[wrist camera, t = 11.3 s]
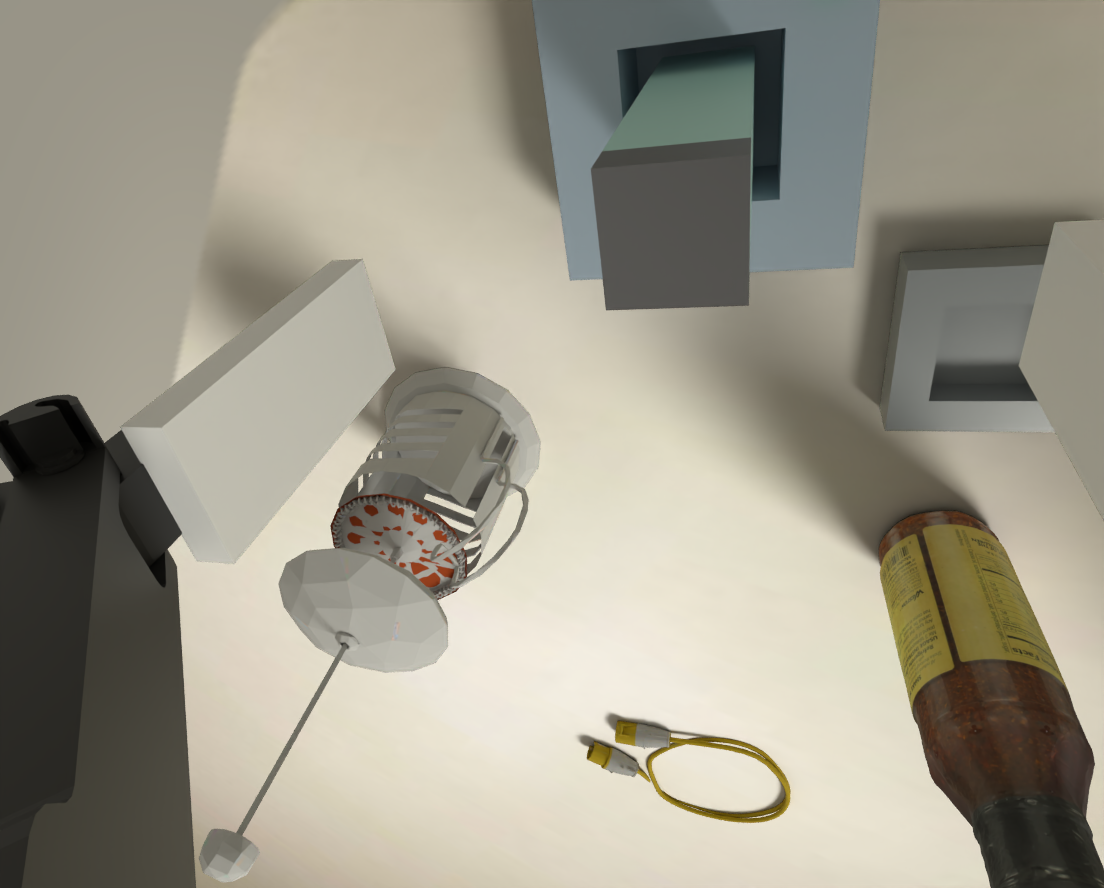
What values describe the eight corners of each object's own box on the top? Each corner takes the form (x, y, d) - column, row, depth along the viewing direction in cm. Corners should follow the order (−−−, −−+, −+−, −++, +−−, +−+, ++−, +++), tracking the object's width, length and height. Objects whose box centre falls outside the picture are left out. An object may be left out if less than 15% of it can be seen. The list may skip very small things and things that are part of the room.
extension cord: (685, 684, 53) (682, 708, 51) (823, 792, 57) (824, 817, 55) (576, 732, 60) (571, 754, 58) (706, 825, 64) (704, 848, 62)
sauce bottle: (901, 596, 43) (981, 992, 27) (856, 524, 40) (916, 912, 25) (1024, 565, 39) (1195, 995, 24) (983, 484, 37) (1144, 903, 21)
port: (841, 222, 31) (854, 271, 27) (591, 237, 34) (567, 284, 30) (868, -94, 25) (891, -94, 21) (560, -41, 28) (524, -32, 24)
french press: (353, 398, 43) (18, 803, 24) (512, 331, 38) (250, 781, 18) (442, 516, 48) (220, 942, 28) (596, 471, 42) (455, 956, 23)
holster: (1065, 408, 34) (1080, 432, 32) (879, 407, 36) (884, 430, 34) (1117, 241, 29) (1137, 260, 28) (900, 252, 31) (908, 270, 30)
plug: (753, 141, 30) (748, 305, 17) (667, 149, 30) (605, 310, 18) (754, 45, 28) (750, 154, 15) (662, 57, 28) (590, 168, 16)
